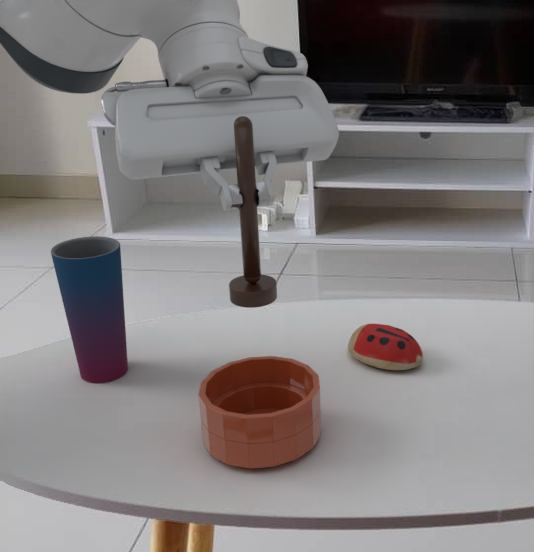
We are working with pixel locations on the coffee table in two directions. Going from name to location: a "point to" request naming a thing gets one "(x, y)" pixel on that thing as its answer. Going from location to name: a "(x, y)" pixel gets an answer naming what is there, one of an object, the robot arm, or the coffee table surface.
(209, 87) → the robot arm
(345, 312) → the coffee table surface
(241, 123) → the brown rod
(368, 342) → the ladybug figurine
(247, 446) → the bowl
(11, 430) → the coffee table surface
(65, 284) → the cup
